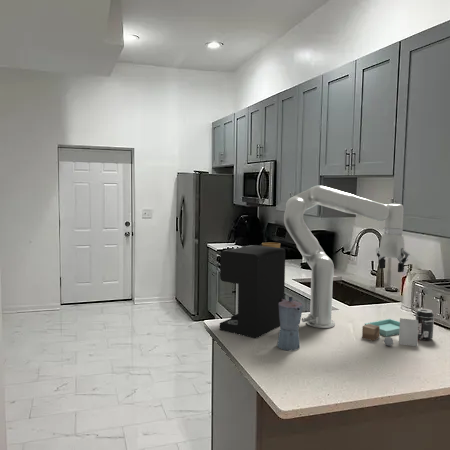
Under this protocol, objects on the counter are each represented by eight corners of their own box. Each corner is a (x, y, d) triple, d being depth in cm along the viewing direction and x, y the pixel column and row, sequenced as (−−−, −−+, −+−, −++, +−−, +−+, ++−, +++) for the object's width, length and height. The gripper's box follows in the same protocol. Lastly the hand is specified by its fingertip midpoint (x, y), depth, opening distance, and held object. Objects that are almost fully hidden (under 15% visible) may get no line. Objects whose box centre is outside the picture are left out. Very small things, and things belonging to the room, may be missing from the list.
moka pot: (288, 355, 170) (290, 302, 168) (266, 342, 184) (267, 293, 182) (309, 351, 175) (311, 299, 173) (286, 338, 188) (287, 290, 186)
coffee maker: (252, 315, 222) (253, 243, 219) (288, 322, 211) (290, 246, 208) (218, 329, 199) (218, 249, 196) (256, 338, 188) (258, 254, 185)
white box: (417, 346, 181) (418, 321, 181) (398, 344, 184) (400, 319, 183) (416, 343, 185) (417, 318, 184) (398, 341, 187) (399, 317, 186)
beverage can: (413, 335, 195) (415, 307, 194) (431, 336, 193) (432, 308, 192) (415, 340, 188) (417, 311, 187) (433, 342, 186) (435, 313, 185)
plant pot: (281, 262, 375) (281, 242, 374) (278, 265, 361) (278, 244, 359) (263, 261, 379) (263, 241, 378) (259, 263, 365) (260, 243, 364)
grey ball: (388, 347, 179) (389, 339, 179) (381, 345, 182) (382, 336, 182) (395, 346, 181) (395, 337, 181) (387, 343, 184) (388, 335, 184)
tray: (386, 336, 192) (386, 331, 192) (364, 328, 203) (364, 323, 203) (411, 330, 200) (411, 325, 200) (389, 323, 211) (389, 318, 210)
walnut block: (373, 341, 187) (373, 329, 187) (362, 337, 191) (362, 326, 190) (379, 338, 191) (379, 326, 190) (368, 335, 194) (368, 323, 194)
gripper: (371, 230, 208) (369, 267, 210) (404, 234, 194) (402, 274, 195) (382, 229, 212) (380, 266, 214) (415, 233, 198) (413, 272, 199)
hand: (391, 270), depth 204 cm, fingers open, 9 cm apart
